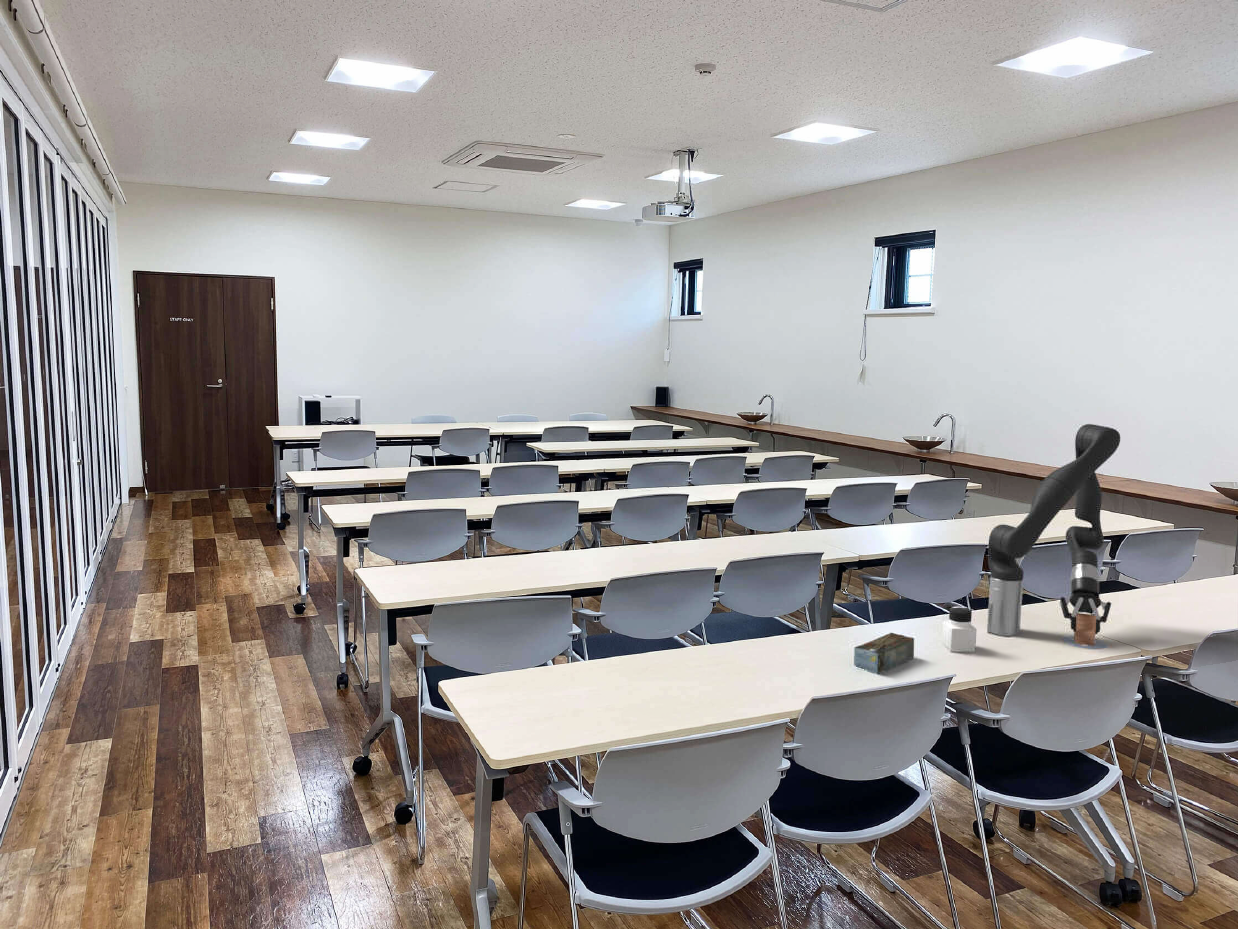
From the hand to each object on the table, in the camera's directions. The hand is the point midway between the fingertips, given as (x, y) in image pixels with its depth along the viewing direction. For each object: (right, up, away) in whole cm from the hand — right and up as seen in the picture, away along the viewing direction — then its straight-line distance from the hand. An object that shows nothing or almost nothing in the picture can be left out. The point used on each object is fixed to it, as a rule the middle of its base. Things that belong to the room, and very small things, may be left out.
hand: (1085, 631), depth 257 cm
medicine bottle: (-39, -5, -3) cm, 39 cm away
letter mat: (+1, -4, +2) cm, 5 cm away
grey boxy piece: (-64, -6, -15) cm, 66 cm away
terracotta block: (+1, -4, +2) cm, 4 cm away
